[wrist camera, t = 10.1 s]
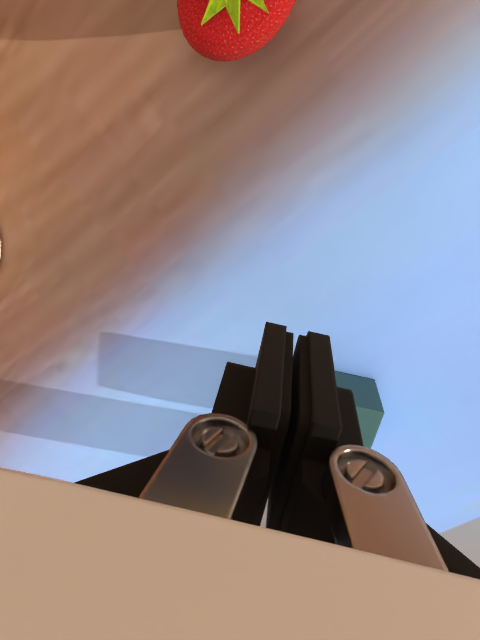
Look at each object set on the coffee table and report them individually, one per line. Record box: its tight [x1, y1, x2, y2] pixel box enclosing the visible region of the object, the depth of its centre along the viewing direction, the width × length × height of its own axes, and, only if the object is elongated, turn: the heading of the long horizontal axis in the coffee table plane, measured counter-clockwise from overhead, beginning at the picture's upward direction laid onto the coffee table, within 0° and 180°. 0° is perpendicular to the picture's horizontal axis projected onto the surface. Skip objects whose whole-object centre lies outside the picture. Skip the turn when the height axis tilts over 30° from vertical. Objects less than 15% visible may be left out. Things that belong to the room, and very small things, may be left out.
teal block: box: [335, 371, 384, 449], centre depth 39 cm, size 6×6×5 cm
